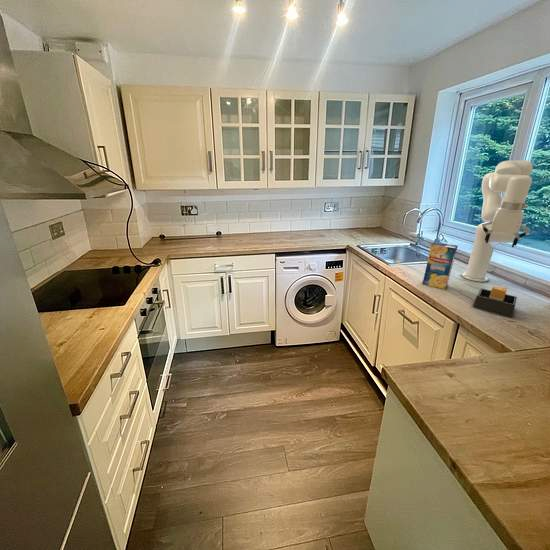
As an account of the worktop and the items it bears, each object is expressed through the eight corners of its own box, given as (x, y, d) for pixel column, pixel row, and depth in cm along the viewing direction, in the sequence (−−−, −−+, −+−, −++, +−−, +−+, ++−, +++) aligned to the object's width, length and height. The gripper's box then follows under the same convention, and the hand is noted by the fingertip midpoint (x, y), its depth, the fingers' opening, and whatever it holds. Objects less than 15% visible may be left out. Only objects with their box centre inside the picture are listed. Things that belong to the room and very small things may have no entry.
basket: (473, 307, 130) (476, 295, 128) (477, 299, 138) (480, 288, 136) (510, 317, 121) (515, 305, 119) (513, 308, 130) (517, 296, 127)
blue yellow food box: (445, 289, 148) (455, 248, 140) (422, 283, 155) (431, 244, 147) (447, 285, 153) (457, 245, 145) (425, 280, 160) (434, 241, 152)
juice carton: (487, 302, 133) (493, 284, 130) (501, 306, 130) (507, 287, 126) (486, 306, 129) (491, 288, 126) (499, 310, 126) (506, 291, 123)
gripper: (538, 207, 121) (524, 246, 128) (489, 203, 132) (478, 239, 138) (537, 209, 116) (523, 250, 122) (486, 205, 126) (475, 242, 133)
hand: (499, 244), depth 130 cm, fingers open, 9 cm apart
